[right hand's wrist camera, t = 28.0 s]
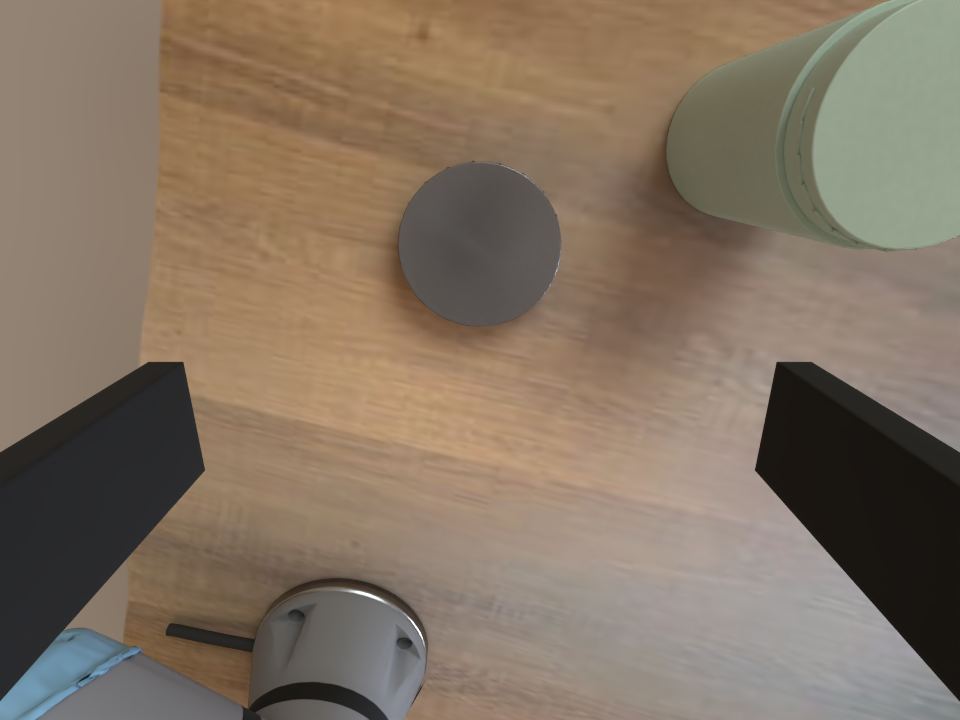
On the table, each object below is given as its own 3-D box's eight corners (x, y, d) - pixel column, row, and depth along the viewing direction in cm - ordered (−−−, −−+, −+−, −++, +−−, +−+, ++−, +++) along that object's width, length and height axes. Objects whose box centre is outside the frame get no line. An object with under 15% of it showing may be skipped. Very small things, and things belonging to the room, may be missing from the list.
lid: (540, 143, 35) (544, 142, 33) (569, 299, 39) (574, 307, 37) (383, 183, 36) (377, 185, 34) (426, 332, 40) (422, 342, 37)
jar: (682, 237, 37) (820, 289, 22) (651, 91, 34) (785, 38, 19) (823, 189, 36) (1069, 210, 21) (804, 34, 33) (1075, -71, 18)
